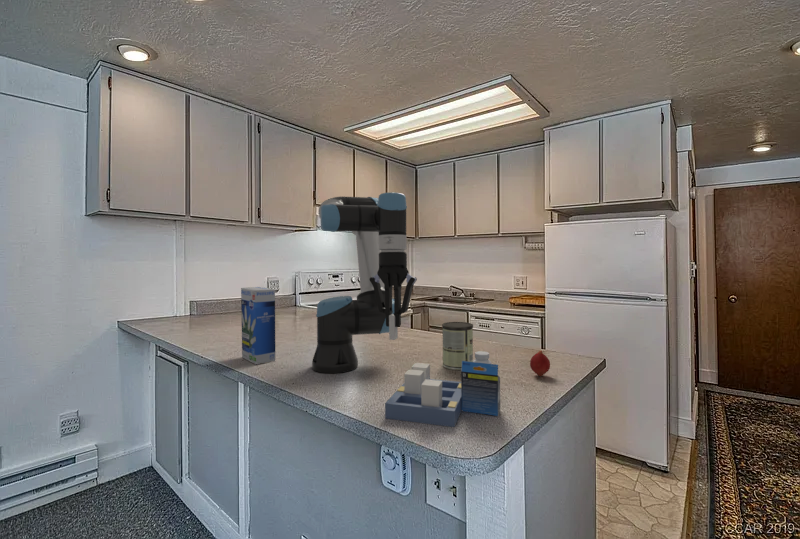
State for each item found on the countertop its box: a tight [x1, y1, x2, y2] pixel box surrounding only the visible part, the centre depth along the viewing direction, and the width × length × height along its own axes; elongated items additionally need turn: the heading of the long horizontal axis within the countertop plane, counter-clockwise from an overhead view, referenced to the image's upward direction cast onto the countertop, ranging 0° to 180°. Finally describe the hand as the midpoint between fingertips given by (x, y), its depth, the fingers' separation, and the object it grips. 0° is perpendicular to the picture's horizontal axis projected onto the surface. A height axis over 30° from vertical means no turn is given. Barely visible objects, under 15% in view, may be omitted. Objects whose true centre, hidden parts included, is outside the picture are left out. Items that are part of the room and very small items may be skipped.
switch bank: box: [384, 378, 462, 428], centre depth 97 cm, size 16×20×4 cm
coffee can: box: [441, 321, 474, 371], centre depth 132 cm, size 10×10×14 cm
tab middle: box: [403, 369, 424, 395], centre depth 98 cm, size 4×4×6 cm
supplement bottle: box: [473, 350, 493, 371], centre depth 111 cm, size 5×5×10 cm
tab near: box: [421, 379, 442, 408], centre depth 90 cm, size 4×4×6 cm
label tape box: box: [460, 361, 501, 417], centre depth 94 cm, size 9×4×12 cm, turn 68°
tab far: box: [411, 362, 431, 381], centre depth 105 cm, size 4×4×6 cm
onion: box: [529, 350, 551, 377], centre depth 121 cm, size 6×6×8 cm
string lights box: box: [240, 286, 276, 365], centre depth 142 cm, size 13×8×26 cm, turn 43°
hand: (393, 338), depth 106 cm, fingers closed
